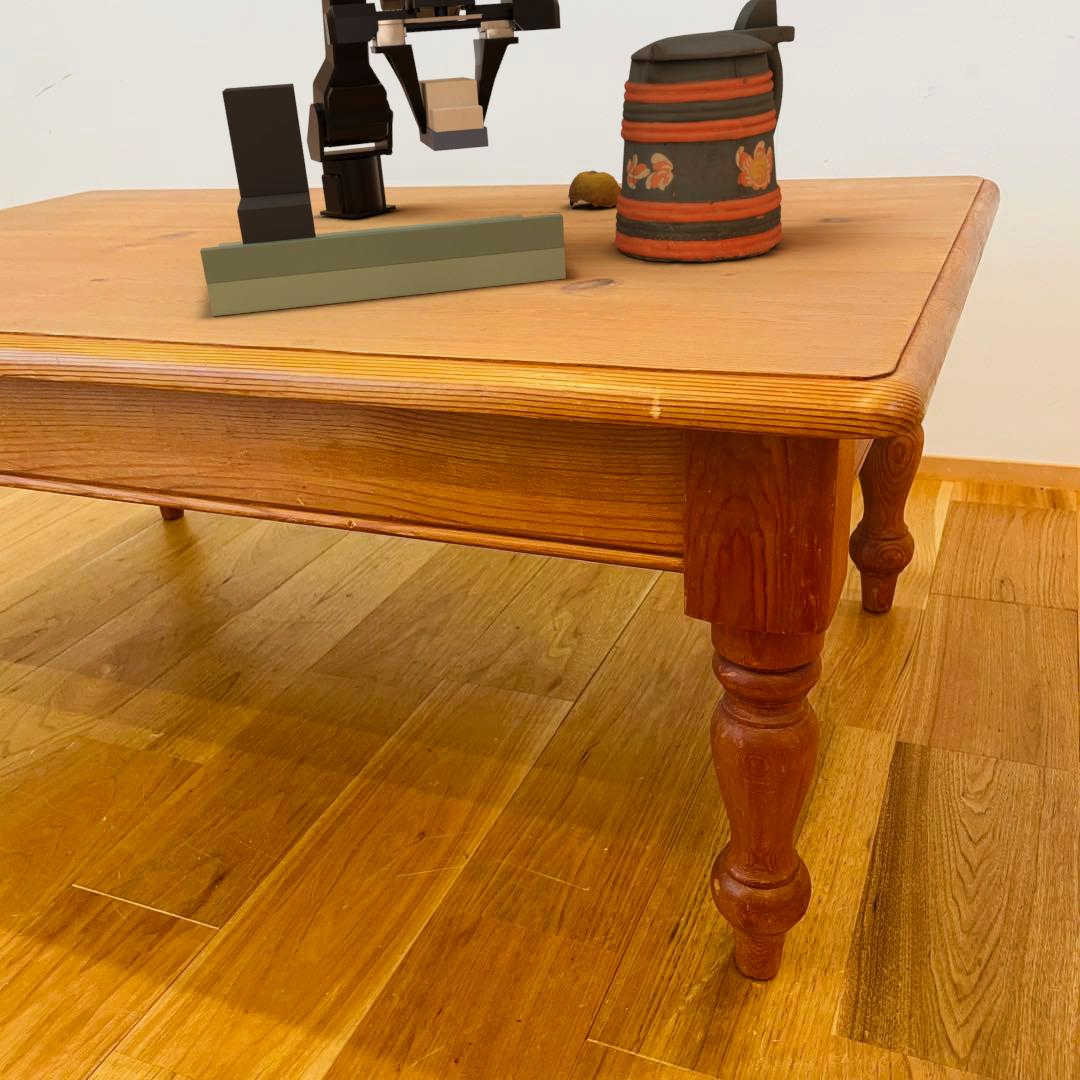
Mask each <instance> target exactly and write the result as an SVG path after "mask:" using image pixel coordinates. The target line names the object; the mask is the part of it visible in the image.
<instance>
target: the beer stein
mask: <svg viewBox="0 0 1080 1080" xmlns="http://www.w3.org/2000/svg"><path fill="white" fill-rule="evenodd" d="M777 4H778V3H777V0H749V1H747V2H745V4H744V5H743V7H742V9H741V10H740V12H739V14H738V16H737V18H736V20H735V23H734V26H733V28H732V29H725V30H717V31H710V32H709V31H707V32H698V33H689V34H680V35H675V36H669V37H664V38H662V39H658V40H655V41H653V42H650V43H649V44H647V45H645V46H643V47H642V48H639V49H637V50H636V51H635V52H633V53H632V54H631V55H630V66H629V72H628V78H627V80H626V81H625V82H624V85H623V87H624V93H623V99H624V101H623V103H622V120H621V122H620V126H621V129H620V137H621V138H622V139H623V156H622V172H621V192H620V193H619V194H618V196H617V201H618V203H617V206H616V205H615V206H616V214H615V218H616V222H615V239H614V246H615V247H616V248H617V249H618V250H619V251H620V252H621V253H622V254H624V255H625V256H628V257H630V258H634V259H639V260H645V261H654V262H667V263H668V262H683V263H685V262H686V263H687V262H689V263H690V262H693V263H695V262H696V263H697V262H700V263H705V262H717V261H723V260H724V261H725V260H740V259H742V258H751V257H755V256H758V255H763V254H765V253H768V252H770V251H771V249H772V248H774V247H775V246H777V245H778V244H779V243H780V242H781V240H782V238H783V230H782V227H783V223H782V221H781V220H782V204H781V203H782V199H783V196H782V193H781V191H782V190H781V186H780V185H779V184H778V182H777V169H776V167H777V166H776V153H775V141H774V139H775V137H774V136H775V132H776V129H777V127H778V123H779V122H778V121H779V118H780V114H781V109H782V102H783V93H784V70H783V68H784V67H783V63H782V58H781V53H780V49H779V44H780V43H791V42H794V40H795V34H796V28H795V26H793V25H778V6H777Z"/></svg>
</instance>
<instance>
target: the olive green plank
mask: <svg viewBox="0 0 1080 1080" xmlns="http://www.w3.org/2000/svg"><path fill="white" fill-rule="evenodd" d="M564 230H565V228H564V215H563V214H562V213H552V214H550V213H549V214H540V215H529V216H523V215H522V214H521V213H520V214H509V215H501V216H500V215H499V216H489V217H479V218H478V217H477V218H468V219H458V220H447V221H438V222H428V223H427V222H426V223H418V224H416V223H415V224H408V225H407V224H406V225H398V226H397V225H396V226H387V227H386V226H385V227H377V228H376V227H374V228H365V229H355V230H346V231H345V230H344V231H335V232H333V231H332V232H324V233H323V232H322V233H315V234H316V237H313V238H302V239H292V240H282V241H271V242H261V243H251V244H243V242H242V240H240V241H232V242H231V241H230V242H220V243H219V244H218V246H212V247H211V246H210V247H202V248H200V251H199V253H200V257H201V264H202V268H203V272H204V273H203V274H204V277H205V278H204V279H205V283H206V288H207V293H208V299H209V303H210V304H209V305H210V309H211V314H212V317H219V316H221V317H222V316H229V315H236V314H237V315H238V314H239V315H240V314H247V313H256V312H265V311H266V312H267V311H276V310H285V309H294V308H305V307H313V306H324V305H331V304H340V303H350V302H360V301H369V300H377V299H378V300H379V299H386V298H387V299H388V298H397V297H406V296H416V295H424V294H425V295H426V294H434V293H443V292H452V291H453V292H454V291H460V290H461V291H463V290H470V289H471V290H472V289H480V288H489V287H498V286H506V285H507V286H508V285H518V284H526V283H535V282H536V283H537V282H545V281H555V280H563V279H564V280H566V279H567V273H566V270H567V269H566V252H565V251H566V250H565V231H564Z"/></svg>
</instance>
